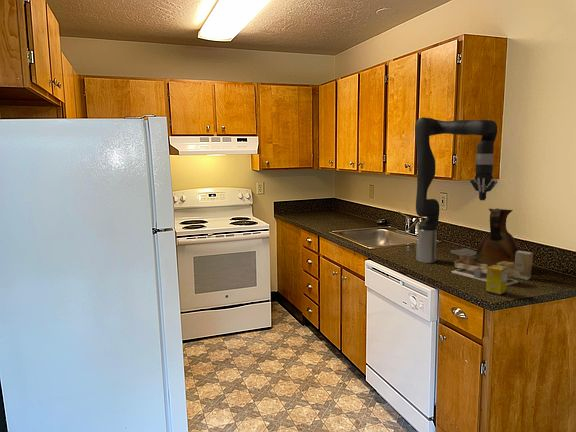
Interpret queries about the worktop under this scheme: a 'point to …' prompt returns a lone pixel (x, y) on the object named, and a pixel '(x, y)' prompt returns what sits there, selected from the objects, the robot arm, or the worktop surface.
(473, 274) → the stand
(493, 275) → the supplement box
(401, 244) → the worktop surface
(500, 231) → the ceramic pitcher
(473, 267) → the beam
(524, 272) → the skincare box
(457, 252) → the soap mold
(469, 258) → the block
